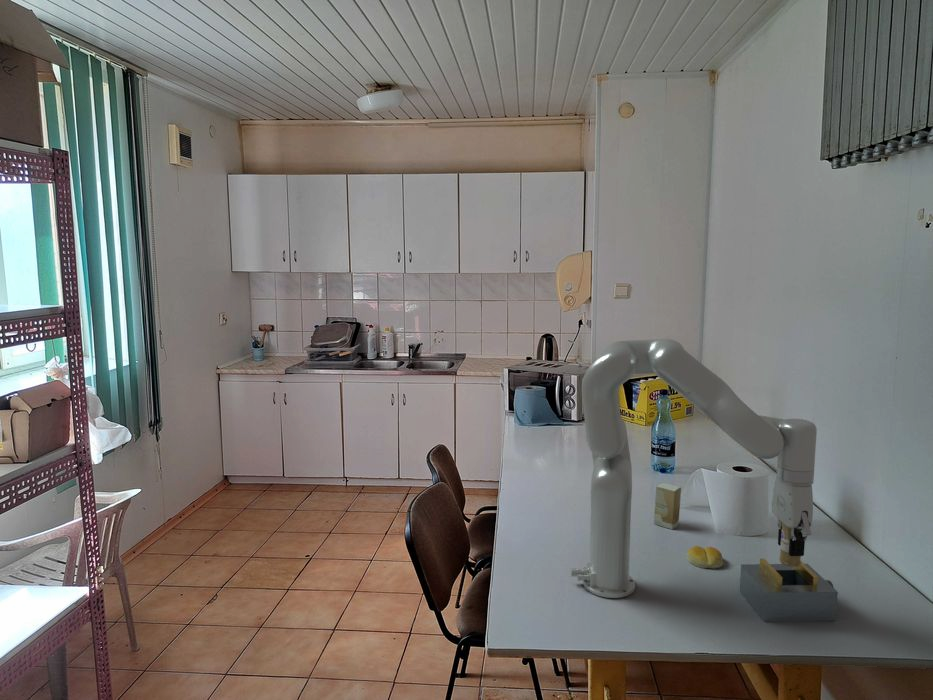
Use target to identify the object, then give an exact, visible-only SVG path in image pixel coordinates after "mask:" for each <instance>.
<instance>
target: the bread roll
mask: <svg viewBox="0 0 933 700" xmlns="http://www.w3.org/2000/svg"><path fill="white" fill-rule="evenodd" d="M686 558H687V561H688V562H689V563H690V564H692V565H694V566H695V567H698V568H700V569H701V568H702V569H707V568H708V569H710V570H711V569H713V570H714V569H720V568H721V567H722V566H724V563H723V555H722V553H721V551H720V550H718V549H717V548H715V547H712V546H707V547H701V546H700V545H699V546H698V545H695V546H693V547H690V548H689V550H688V551H687V554H686Z"/></svg>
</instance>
